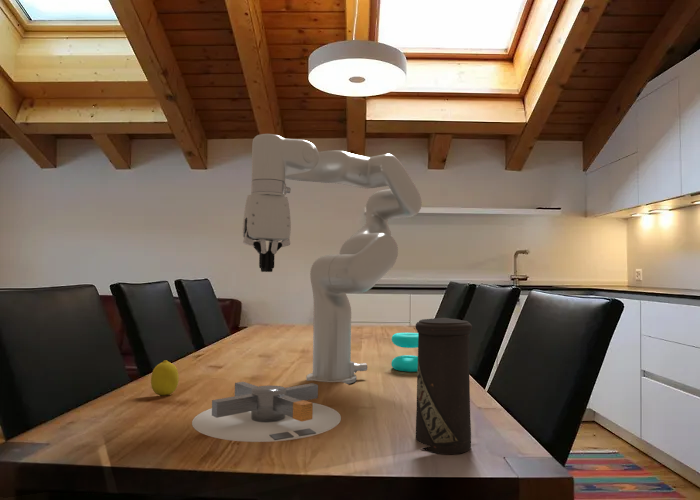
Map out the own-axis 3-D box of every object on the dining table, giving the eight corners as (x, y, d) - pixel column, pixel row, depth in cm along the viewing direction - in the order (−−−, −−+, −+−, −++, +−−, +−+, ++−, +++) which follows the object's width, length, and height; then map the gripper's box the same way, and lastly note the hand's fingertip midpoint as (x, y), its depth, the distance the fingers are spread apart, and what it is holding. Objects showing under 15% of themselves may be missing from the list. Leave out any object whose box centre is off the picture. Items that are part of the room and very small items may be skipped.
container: (409, 437, 83) (410, 315, 84) (463, 436, 84) (463, 315, 85) (421, 456, 75) (422, 320, 76) (480, 455, 76) (480, 320, 76)
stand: (304, 399, 108) (304, 393, 108) (368, 432, 85) (368, 425, 86) (177, 414, 95) (178, 407, 95) (214, 459, 73) (214, 450, 73)
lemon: (169, 402, 104) (170, 363, 104) (144, 400, 105) (146, 361, 105) (183, 396, 109) (184, 358, 110) (159, 394, 110) (161, 357, 111)
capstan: (186, 415, 91) (187, 387, 91) (283, 397, 105) (284, 373, 105) (250, 447, 75) (250, 412, 75) (354, 421, 89) (355, 392, 89)
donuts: (427, 332, 148) (425, 336, 139) (427, 367, 148) (425, 373, 138) (394, 331, 150) (389, 335, 141) (393, 365, 150) (389, 371, 140)
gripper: (292, 195, 121) (290, 272, 120) (230, 189, 114) (228, 271, 113) (305, 191, 115) (304, 272, 114) (241, 184, 107) (239, 271, 106)
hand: (266, 271), depth 113 cm, fingers closed
